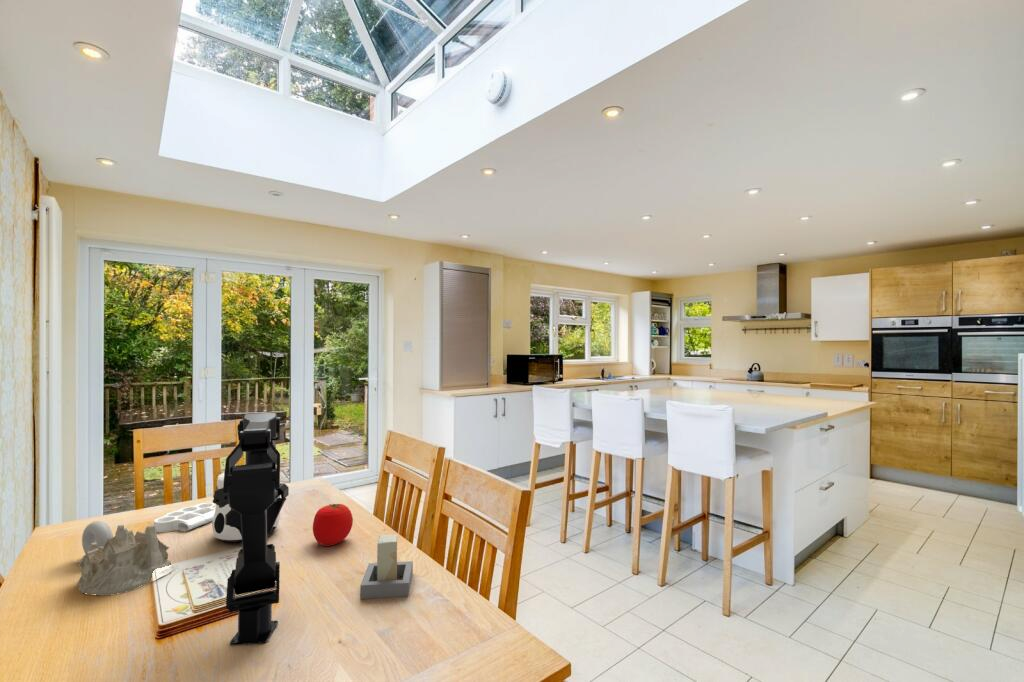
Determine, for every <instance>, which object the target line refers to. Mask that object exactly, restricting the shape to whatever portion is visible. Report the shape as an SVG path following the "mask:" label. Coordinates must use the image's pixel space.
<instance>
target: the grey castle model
mask: <svg viewBox="0 0 1024 682" xmlns="http://www.w3.org/2000/svg"><path fill="white" fill-rule="evenodd" d="M97 545H98V544H97V543H92V544H91V545H90V550H89V551H88V552H87V553H86V554H85V553H84V555H83V556H82V557H81V558H80V559H79V560H78V562H77V564H78V567H79V568H80V569H81V570H80V572H81V575H80V578H79V580H78V582H77V587H78V586H79V588H78V590H79V589H80V591H81V592H82V593H87V595H88V594H96V595H109V596H112V595H111V594H115V595H118V594H117V593H120V594H123V592H124V593H127V592H131V591H134V590H135V588H136V589H138V588H140V587H139V586H141V585H143V586H145V585H147V584H150V583H151V582H150V581H151V578H152V573H153V571H154V570H155V569H157V568H162V567H165V566H169V565H172V562H171V561H170V559H169V552H167V550H168V549H169V548H170V547H169V546H167V544H164V543H163V542H162V541H160V539H159V538H158V536H157V532H156V529H155V525H154V524H148V525H147V526H146V527H145V530H144V532H142V531H136V533H135V535H134V532H133V530H132V529H131V530H128V528H127V527H125V525H124V524H119V525H117V529H116V532H115V534H114V536H113V537H112V538H108V540H107V542H106V544H105V546H104V547H99V548H98V546H97ZM144 584H145V585H144ZM137 587H138V588H137ZM141 587H142V586H141ZM130 590H131V591H130ZM80 591H79V592H80ZM126 591H127V592H126ZM81 592H80V593H81ZM82 593H81V594H82Z"/></svg>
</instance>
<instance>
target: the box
mask: <svg viewBox="0 0 1024 682" xmlns="http://www.w3.org/2000/svg"><path fill="white" fill-rule="evenodd" d="M376 552H377V554H376V555H377V556H376V557H377V560H376V563H377V578H376V581H390V580H398V577H397V562H398V534H397V533H395V534H381V535H378V539H377V551H376Z"/></svg>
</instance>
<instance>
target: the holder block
mask: <svg viewBox="0 0 1024 682" xmlns="http://www.w3.org/2000/svg"><path fill="white" fill-rule="evenodd" d="M413 563H414V560H413V561H412V560H410V561H408V560H407V561H397V578H402V579H397V580H390V581H377V580H375V581H374V579H377V562H372V563H371V562H370V563H368V565H367V567H366V569H365V573H364V575H363V577H362V581H361V583H360V587H359V589H360V594H359V595H360V598H359V599H361V600H363V599H364V600H365V599H366V600H369V599H382V598H383V599H384V598H400V597H401V598H402V597H403V598H405V597H409V595H410V590H411V586H412V585H411V584H412V578H413V573H414V572H413V571H414V569H413V568H414V567H413V565H414V564H413ZM400 576H401V577H400ZM402 576H403V577H402ZM410 585H411V586H410Z"/></svg>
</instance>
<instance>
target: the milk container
mask: <svg viewBox="0 0 1024 682" xmlns="http://www.w3.org/2000/svg"><path fill="white" fill-rule="evenodd" d="M224 473H225V471H224V472H222V473H221V474H219V475H218V476H217V481H216V490H217V489H219V488H220V489H221V488H223V484H224ZM215 508H216V510H215V513H214V517H213V521H211V526H212V528H211V529H212V533H213V536H214V537H215V538H216V539H217V540H219V541H221V542H226V543H239V542H240V543H242V536H241V534H240V532H239V530H238V529H237V528H235V527H230V526H229V525H226V524H225V515H226V514H227V513H228V512H229V511H230V510H231V509H232V508H230V507H229V504H227V505H225V506H224V507H222V508H219V505H216V504H215ZM280 519H281V512H280V513H279V515H278V517H277V519H276V521H275V524H274V526H273V528H272V530H271V532H270V534H271V533H272V532H274V531H275V529H277V527H278V525H279V523H280Z"/></svg>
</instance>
